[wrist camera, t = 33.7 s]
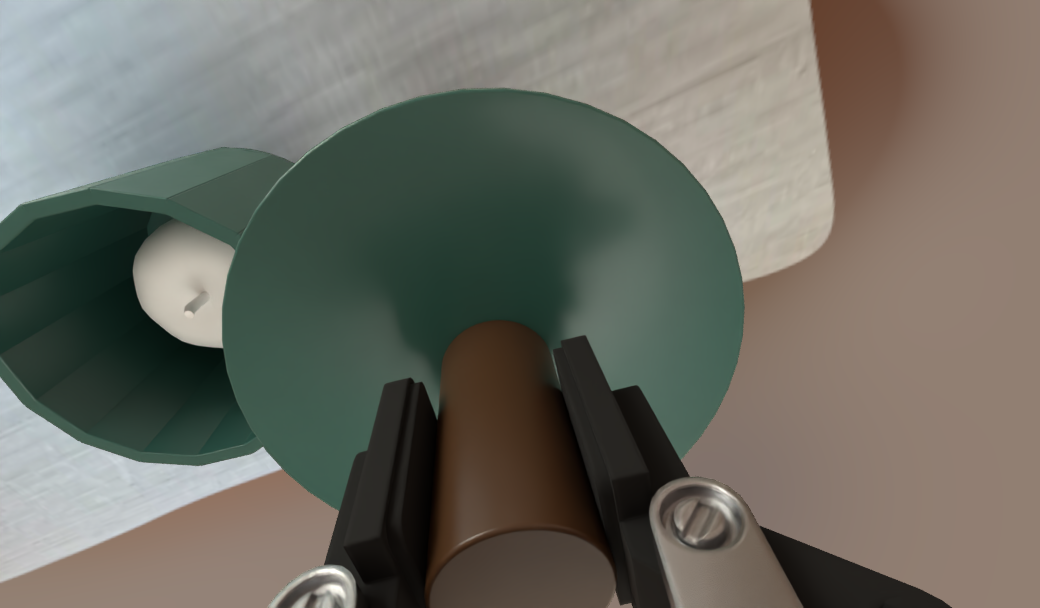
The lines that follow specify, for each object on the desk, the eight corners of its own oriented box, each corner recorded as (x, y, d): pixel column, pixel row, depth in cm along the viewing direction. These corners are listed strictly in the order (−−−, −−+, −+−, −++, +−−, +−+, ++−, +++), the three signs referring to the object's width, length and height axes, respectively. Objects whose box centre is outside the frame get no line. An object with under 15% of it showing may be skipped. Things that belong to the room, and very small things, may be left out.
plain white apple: (333, 296, 29) (288, 368, 22) (218, 321, 30) (137, 401, 22) (286, 182, 26) (216, 223, 19) (159, 210, 26) (41, 262, 19)
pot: (208, 364, 31) (95, 491, 22) (96, 177, 26) (-119, 237, 16) (392, 321, 31) (358, 429, 22) (317, 123, 26) (228, 153, 16)
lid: (351, 552, 16) (277, 868, 10) (134, 165, 11) (-385, 308, 4) (728, 460, 16) (903, 715, 10) (714, 23, 11) (1111, -54, 4)
